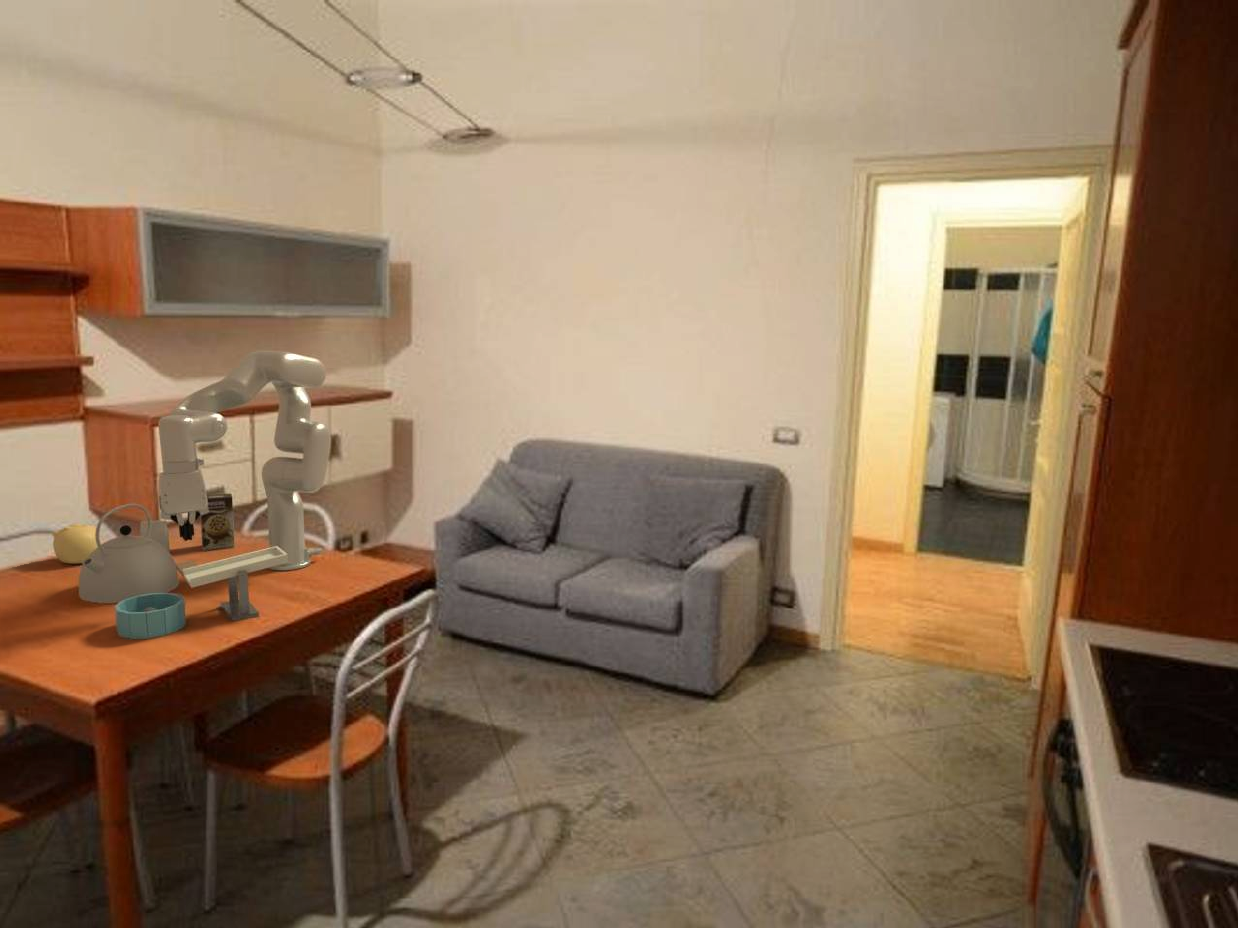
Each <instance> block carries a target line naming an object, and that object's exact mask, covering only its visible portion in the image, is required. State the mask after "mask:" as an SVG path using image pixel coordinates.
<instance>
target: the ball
mask: <svg viewBox="0 0 1238 928" xmlns="http://www.w3.org/2000/svg"><path fill="white" fill-rule="evenodd" d="M155 610H157V609H155V608H152V607H150V608H146V609H144V610H143V611H142V612H149V611H155Z"/></svg>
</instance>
